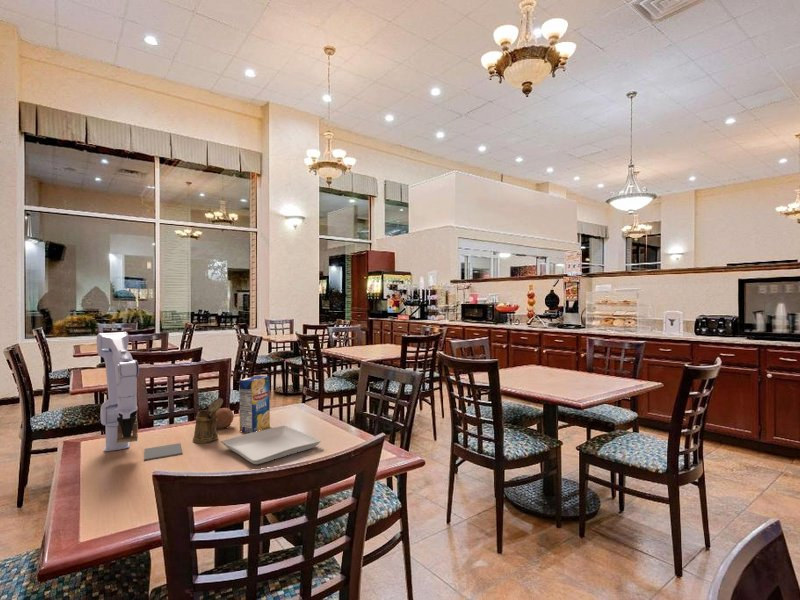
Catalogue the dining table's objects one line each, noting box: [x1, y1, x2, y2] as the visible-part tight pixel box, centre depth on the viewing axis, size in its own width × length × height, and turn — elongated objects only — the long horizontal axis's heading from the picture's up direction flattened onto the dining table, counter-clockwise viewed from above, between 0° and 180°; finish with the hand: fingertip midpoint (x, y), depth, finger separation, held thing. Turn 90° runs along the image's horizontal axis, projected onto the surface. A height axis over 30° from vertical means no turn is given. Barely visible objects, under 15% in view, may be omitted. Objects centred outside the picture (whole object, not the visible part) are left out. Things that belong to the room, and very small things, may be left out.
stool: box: [117, 420, 139, 444], centre depth 151 cm, size 6×6×6 cm
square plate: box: [220, 425, 322, 465], centre depth 161 cm, size 27×27×4 cm
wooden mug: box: [192, 397, 224, 444], centre depth 170 cm, size 9×14×18 cm, turn 60°
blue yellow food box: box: [238, 375, 271, 434], centre depth 185 cm, size 7×11×22 cm, turn 157°
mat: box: [143, 442, 184, 461], centre depth 158 cm, size 12×12×1 cm
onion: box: [216, 407, 234, 430], centre depth 187 cm, size 10×9×10 cm
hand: (127, 434), depth 151 cm, fingers closed on stool, 6 cm apart
